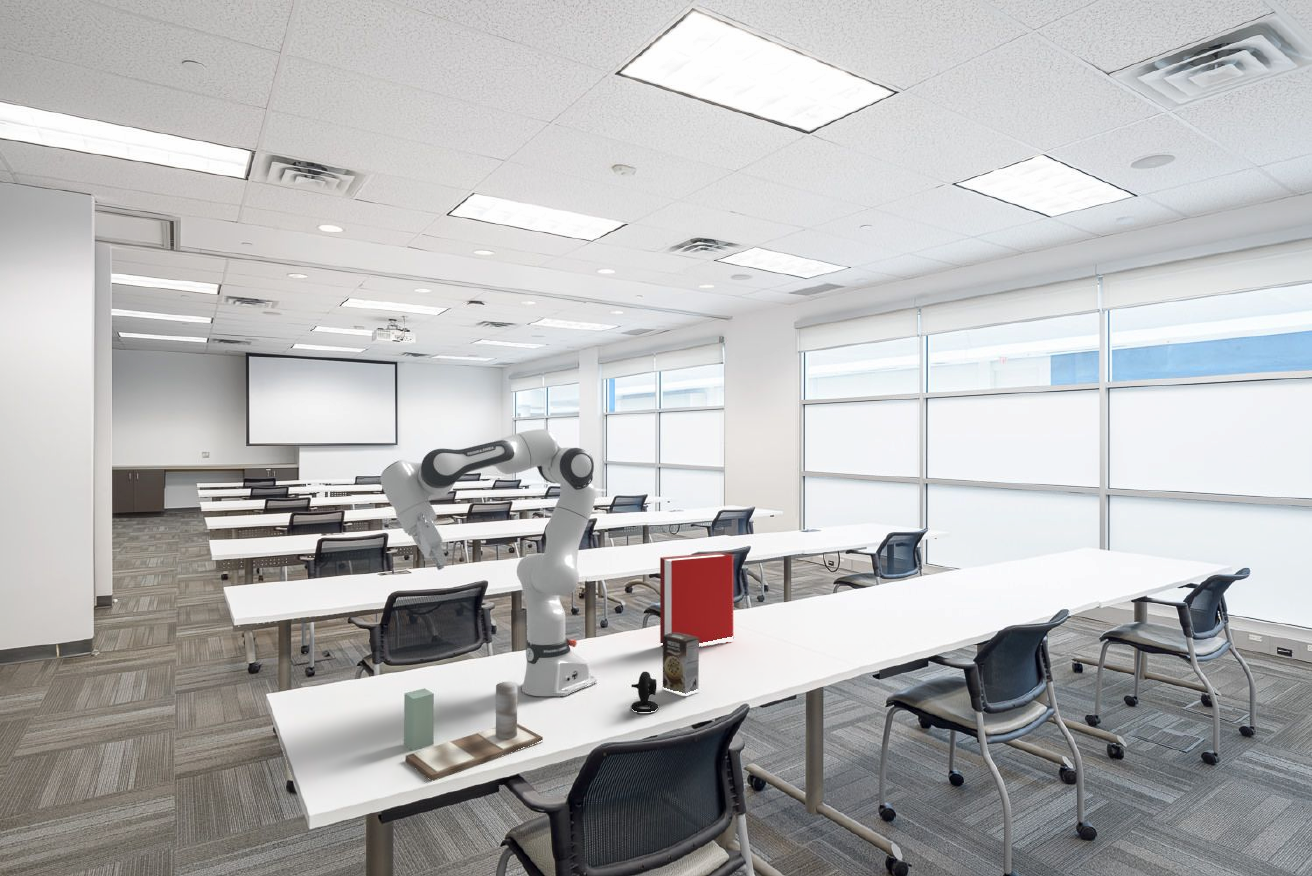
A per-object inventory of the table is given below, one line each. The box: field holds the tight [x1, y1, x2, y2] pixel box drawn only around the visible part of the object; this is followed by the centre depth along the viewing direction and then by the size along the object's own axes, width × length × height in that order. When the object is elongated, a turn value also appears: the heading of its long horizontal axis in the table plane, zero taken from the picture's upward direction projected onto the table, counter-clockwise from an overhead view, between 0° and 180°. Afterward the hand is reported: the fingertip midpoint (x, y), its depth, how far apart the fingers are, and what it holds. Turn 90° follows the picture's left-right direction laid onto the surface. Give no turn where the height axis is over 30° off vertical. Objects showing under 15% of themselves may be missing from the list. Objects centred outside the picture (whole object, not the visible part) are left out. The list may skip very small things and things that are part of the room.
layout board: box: [405, 681, 544, 782], centre depth 157 cm, size 28×13×13 cm, turn 134°
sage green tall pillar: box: [403, 687, 435, 752], centre depth 161 cm, size 5×5×12 cm
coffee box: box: [662, 632, 700, 694], centre depth 197 cm, size 9×6×16 cm
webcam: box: [630, 671, 659, 712], centre depth 183 cm, size 8×8×10 cm
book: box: [659, 552, 734, 644], centre depth 246 cm, size 27×8×32 cm, turn 119°
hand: (442, 566), depth 174 cm, fingers open, 8 cm apart
